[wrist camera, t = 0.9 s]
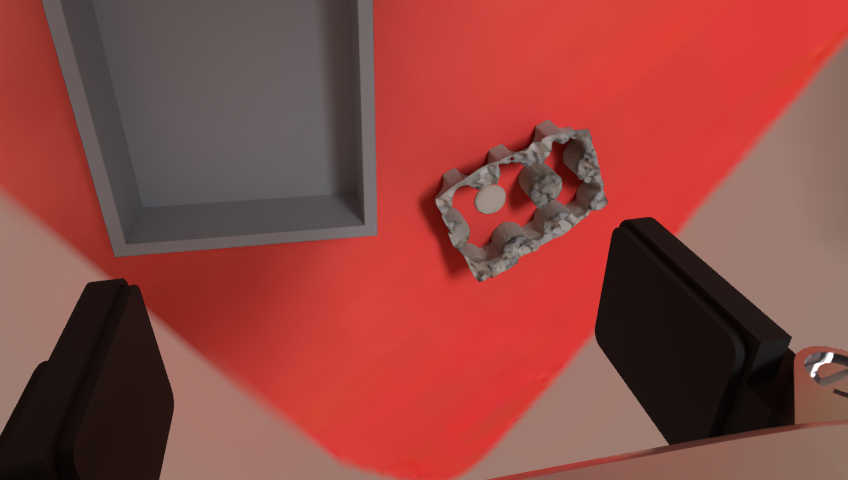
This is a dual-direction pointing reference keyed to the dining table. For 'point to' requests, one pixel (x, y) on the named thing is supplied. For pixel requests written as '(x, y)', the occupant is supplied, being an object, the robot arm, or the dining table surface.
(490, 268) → the egg carton
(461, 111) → the dining table surface
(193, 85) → the grey tote
